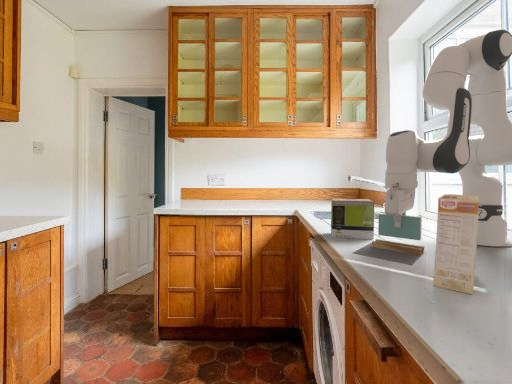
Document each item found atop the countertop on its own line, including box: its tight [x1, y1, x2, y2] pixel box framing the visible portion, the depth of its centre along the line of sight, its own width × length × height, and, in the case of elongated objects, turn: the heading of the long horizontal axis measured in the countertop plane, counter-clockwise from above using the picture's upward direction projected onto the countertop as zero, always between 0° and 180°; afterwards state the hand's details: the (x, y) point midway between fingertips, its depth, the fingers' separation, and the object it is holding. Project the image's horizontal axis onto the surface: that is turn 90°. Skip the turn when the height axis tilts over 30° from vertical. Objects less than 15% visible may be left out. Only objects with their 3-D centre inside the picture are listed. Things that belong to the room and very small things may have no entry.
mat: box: [352, 242, 424, 266], centre depth 83 cm, size 17×16×1 cm
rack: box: [371, 238, 425, 257], centre depth 87 cm, size 5×14×2 cm, turn 49°
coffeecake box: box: [433, 193, 479, 295], centre depth 63 cm, size 15×7×20 cm, turn 141°
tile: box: [377, 212, 423, 241], centre depth 87 cm, size 2×12×7 cm, turn 49°
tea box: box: [330, 198, 375, 240], centre depth 106 cm, size 15×10×15 cm
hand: (399, 226), depth 87 cm, fingers closed on tile, 2 cm apart
